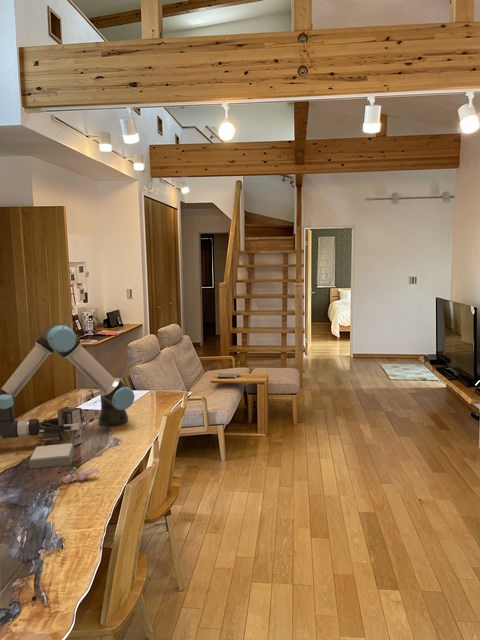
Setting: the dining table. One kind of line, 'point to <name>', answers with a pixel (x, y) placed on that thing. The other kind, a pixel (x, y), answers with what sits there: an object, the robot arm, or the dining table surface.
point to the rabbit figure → (81, 475)
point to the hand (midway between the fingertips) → (80, 422)
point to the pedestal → (51, 456)
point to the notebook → (51, 436)
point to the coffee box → (70, 417)
